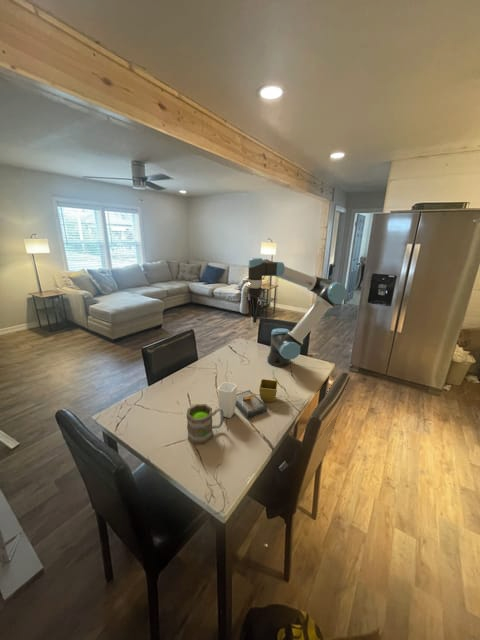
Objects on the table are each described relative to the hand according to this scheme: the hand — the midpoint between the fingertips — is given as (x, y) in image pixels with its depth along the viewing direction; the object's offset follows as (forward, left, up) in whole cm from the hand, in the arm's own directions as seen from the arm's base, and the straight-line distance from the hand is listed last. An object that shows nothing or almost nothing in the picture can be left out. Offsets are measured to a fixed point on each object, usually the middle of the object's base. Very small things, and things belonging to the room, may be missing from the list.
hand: (253, 327), depth 151 cm
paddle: (+19, +24, -26) cm, 40 cm away
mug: (+45, +33, -31) cm, 64 cm away
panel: (+19, +26, -30) cm, 44 cm away
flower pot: (+7, +26, -31) cm, 41 cm away
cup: (+31, +26, -31) cm, 51 cm away
